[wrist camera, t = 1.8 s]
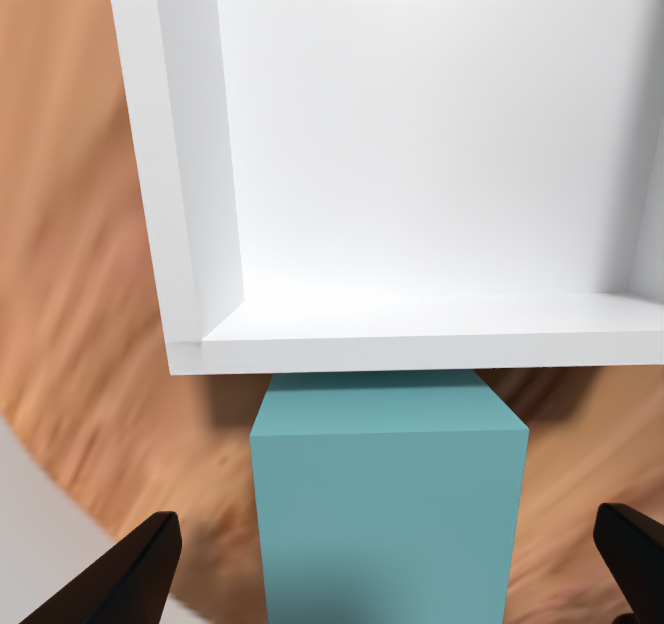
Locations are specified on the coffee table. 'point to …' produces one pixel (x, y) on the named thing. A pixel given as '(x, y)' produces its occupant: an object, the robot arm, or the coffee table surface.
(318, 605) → the teal cube
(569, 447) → the coffee table surface
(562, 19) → the tote
